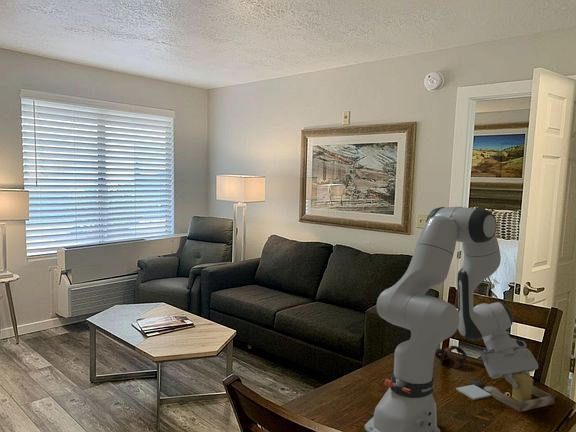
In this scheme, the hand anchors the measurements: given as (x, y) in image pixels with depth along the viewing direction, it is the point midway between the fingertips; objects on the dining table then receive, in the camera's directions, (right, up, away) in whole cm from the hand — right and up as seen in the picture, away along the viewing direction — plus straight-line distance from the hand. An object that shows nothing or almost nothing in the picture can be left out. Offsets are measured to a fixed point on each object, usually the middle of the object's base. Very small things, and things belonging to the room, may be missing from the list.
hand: (523, 386), depth 148 cm
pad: (-15, -4, +5) cm, 16 cm away
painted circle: (-7, -4, +7) cm, 11 cm away
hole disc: (-11, -4, +12) cm, 16 cm away
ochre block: (0, -5, +1) cm, 5 cm away
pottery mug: (-14, -3, +30) cm, 33 cm away
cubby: (0, -5, +1) cm, 5 cm away
